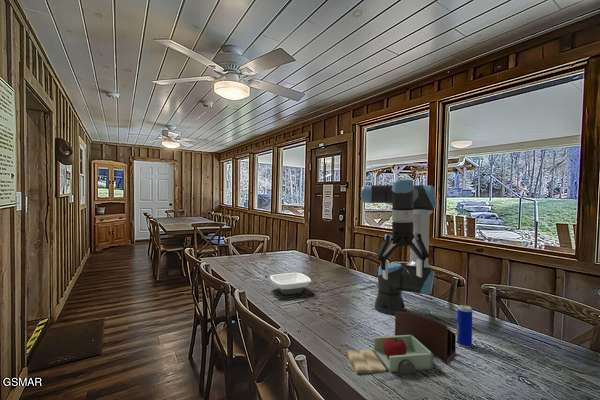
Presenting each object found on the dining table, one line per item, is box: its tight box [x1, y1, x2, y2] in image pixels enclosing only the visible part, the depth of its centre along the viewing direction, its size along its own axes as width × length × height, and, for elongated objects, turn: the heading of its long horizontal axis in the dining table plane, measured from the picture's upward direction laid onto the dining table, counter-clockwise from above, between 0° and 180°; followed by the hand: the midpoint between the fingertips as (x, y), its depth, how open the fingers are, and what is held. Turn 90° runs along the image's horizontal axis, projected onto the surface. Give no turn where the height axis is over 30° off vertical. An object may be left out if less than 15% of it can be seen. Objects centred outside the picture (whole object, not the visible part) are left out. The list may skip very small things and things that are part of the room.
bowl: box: [269, 272, 312, 296], centre depth 182 cm, size 22×23×8 cm
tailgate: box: [345, 349, 390, 374], centre depth 104 cm, size 13×1×11 cm
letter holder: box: [394, 311, 457, 364], centre depth 116 cm, size 10×20×14 cm, turn 45°
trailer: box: [373, 335, 434, 376], centre depth 106 cm, size 18×15×6 cm
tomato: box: [383, 337, 407, 357], centre depth 106 cm, size 8×8×7 cm
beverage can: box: [456, 304, 473, 348], centre depth 118 cm, size 5×5×15 cm
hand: (402, 277), depth 112 cm, fingers open, 13 cm apart
